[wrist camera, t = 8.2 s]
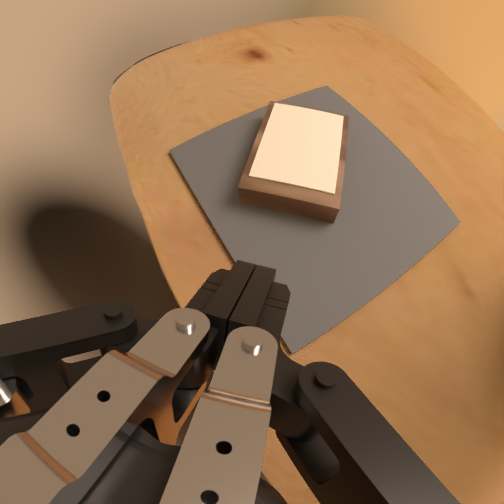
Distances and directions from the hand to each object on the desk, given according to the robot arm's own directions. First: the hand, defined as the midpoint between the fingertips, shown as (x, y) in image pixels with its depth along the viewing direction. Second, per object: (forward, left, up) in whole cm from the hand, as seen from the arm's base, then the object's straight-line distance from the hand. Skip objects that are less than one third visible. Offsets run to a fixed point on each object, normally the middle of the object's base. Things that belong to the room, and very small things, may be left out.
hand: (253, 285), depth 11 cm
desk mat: (-14, -10, -16) cm, 23 cm away
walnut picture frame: (-8, -8, -14) cm, 18 cm away
